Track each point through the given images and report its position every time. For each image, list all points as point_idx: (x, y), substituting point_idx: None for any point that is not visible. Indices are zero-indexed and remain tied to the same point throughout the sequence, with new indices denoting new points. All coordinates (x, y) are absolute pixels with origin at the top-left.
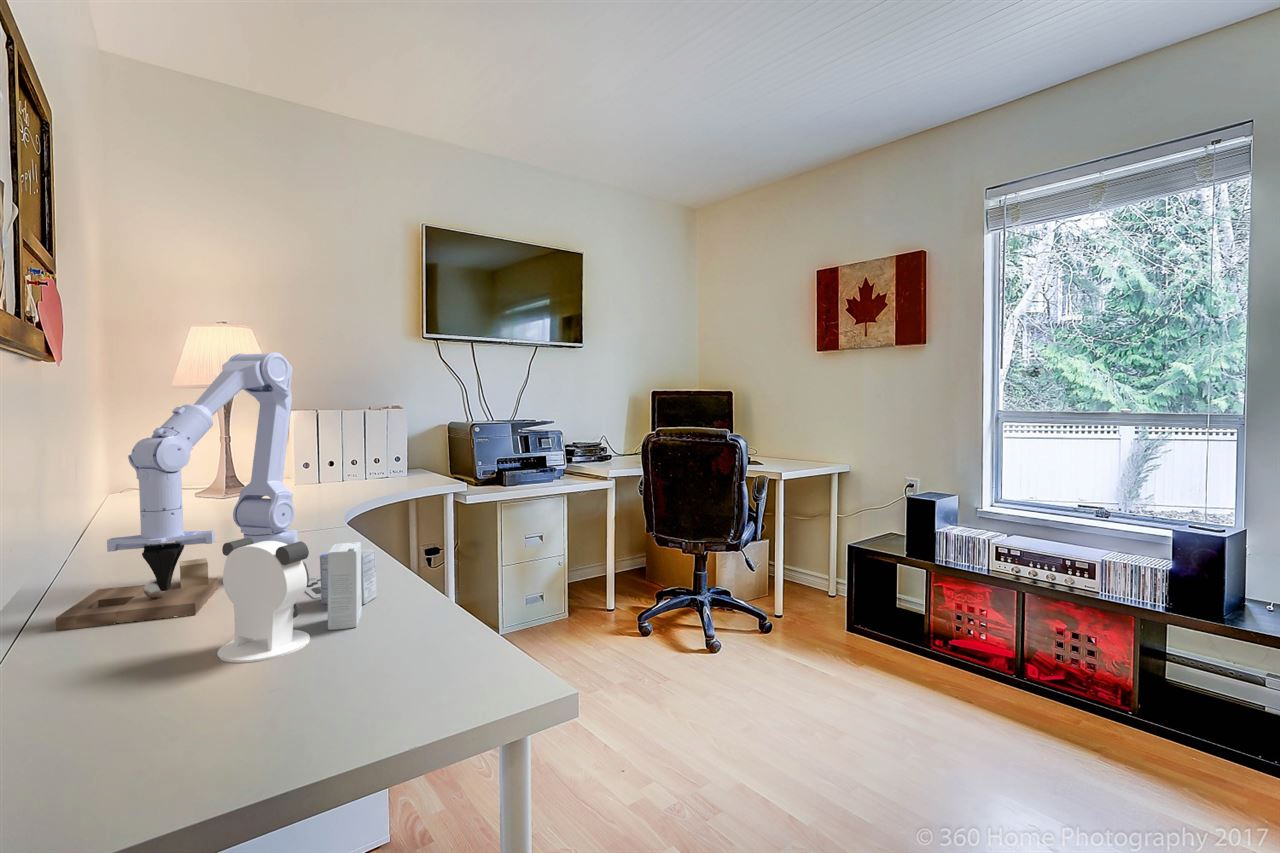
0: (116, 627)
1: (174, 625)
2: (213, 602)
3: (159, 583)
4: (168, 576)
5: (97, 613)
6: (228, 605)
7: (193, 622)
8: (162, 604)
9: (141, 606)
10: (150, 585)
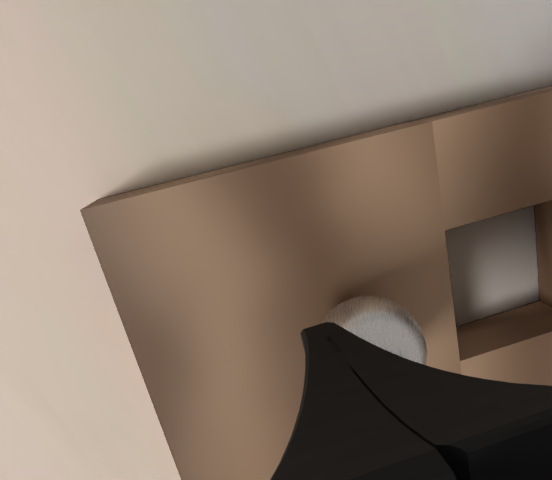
0: (378, 73)
1: (109, 43)
2: (130, 382)
3: (343, 333)
4: (305, 369)
5: (501, 104)
6: (19, 333)
7: (32, 75)
8: (257, 207)
9: (349, 189)
10: (389, 324)
